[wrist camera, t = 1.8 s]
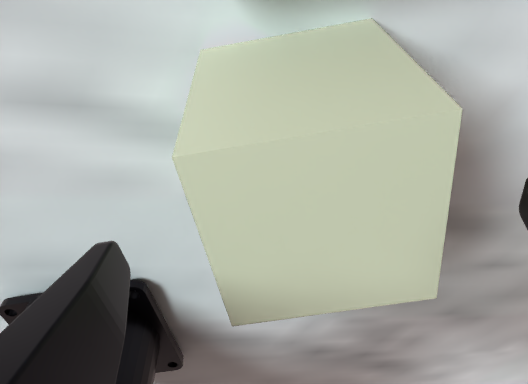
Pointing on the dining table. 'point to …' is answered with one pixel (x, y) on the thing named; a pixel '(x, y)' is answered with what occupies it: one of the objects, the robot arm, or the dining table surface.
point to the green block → (318, 172)
